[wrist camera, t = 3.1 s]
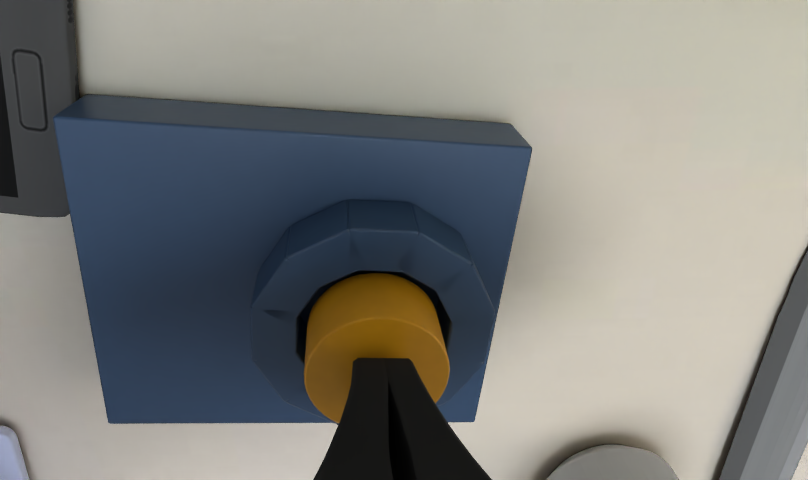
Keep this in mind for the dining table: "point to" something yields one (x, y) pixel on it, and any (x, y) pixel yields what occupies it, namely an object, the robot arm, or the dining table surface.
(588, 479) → the beverage can
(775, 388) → the knife
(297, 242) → the button housing
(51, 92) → the cell phone
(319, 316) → the trigger button
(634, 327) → the dining table surface
